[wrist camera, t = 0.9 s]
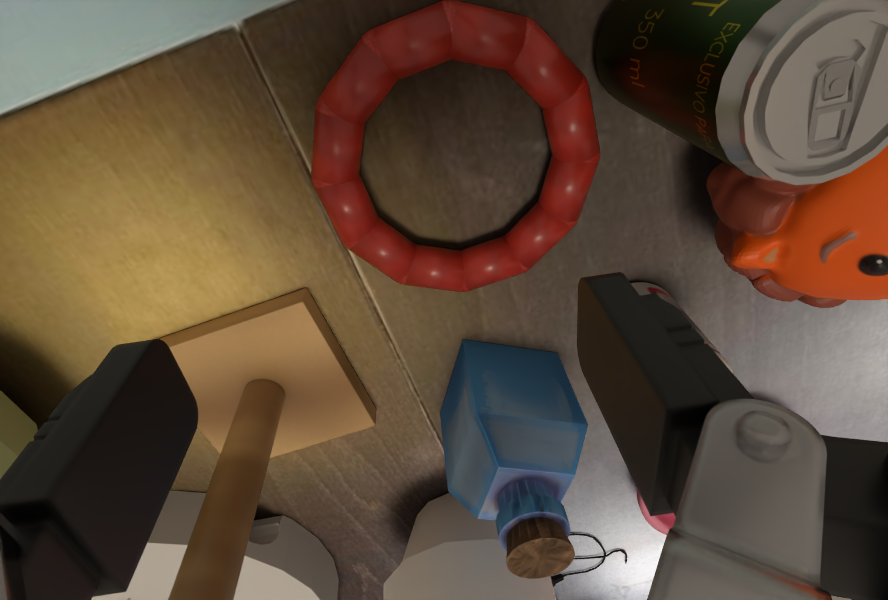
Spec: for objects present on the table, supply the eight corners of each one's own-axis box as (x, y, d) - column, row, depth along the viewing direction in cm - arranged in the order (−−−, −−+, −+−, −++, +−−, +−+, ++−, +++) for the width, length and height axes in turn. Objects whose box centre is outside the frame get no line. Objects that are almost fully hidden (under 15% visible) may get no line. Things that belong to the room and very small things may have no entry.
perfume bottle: (527, 423, 36) (579, 599, 26) (440, 413, 35) (458, 593, 25) (557, 352, 33) (629, 521, 23) (462, 339, 32) (494, 510, 22)
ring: (264, 69, 23) (252, 78, 21) (557, -48, 22) (572, -49, 20) (380, 306, 30) (379, 328, 28) (607, 230, 29) (622, 248, 27)
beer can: (704, 89, 25) (915, 169, 15) (593, 116, 25) (726, 211, 15) (711, -41, 22) (978, -54, 12) (586, -11, 22) (745, 3, 12)
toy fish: (756, 275, 31) (919, 411, 21) (626, 191, 28) (752, 309, 18) (941, 91, 26) (1263, 161, 16) (812, -41, 22) (1125, -50, 13)
